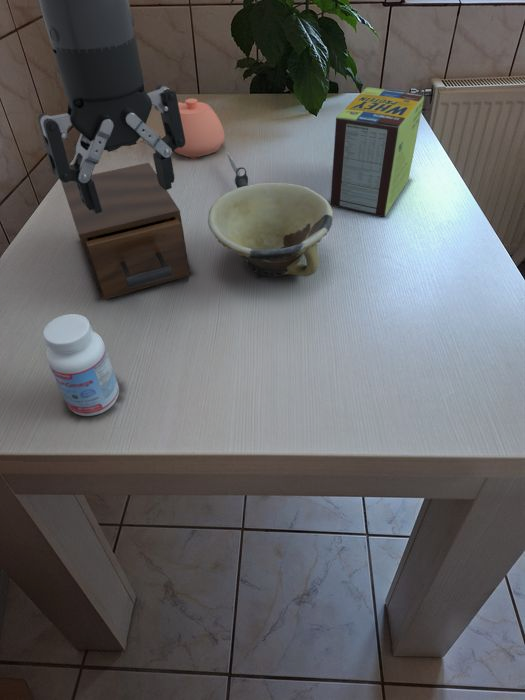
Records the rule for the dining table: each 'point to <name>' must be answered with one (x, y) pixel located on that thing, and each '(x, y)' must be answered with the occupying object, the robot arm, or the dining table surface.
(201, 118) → the sugar bowl
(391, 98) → the protein box
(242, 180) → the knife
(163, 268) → the drawer
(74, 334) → the pill bottle
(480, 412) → the dining table surface
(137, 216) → the cabinet
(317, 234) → the bowl
